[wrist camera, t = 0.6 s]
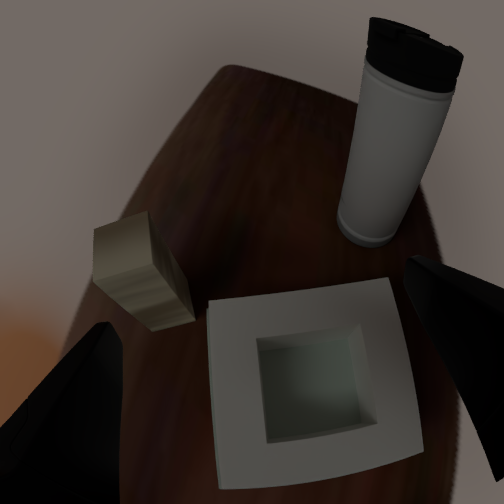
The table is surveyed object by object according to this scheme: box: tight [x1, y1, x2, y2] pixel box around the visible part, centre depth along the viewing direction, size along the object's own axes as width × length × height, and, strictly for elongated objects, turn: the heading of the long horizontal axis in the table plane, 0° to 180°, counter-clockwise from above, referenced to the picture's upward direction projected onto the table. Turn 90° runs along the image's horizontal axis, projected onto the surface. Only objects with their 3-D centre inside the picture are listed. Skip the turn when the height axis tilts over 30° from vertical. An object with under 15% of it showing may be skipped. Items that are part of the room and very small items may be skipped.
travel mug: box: [337, 17, 464, 248], centre depth 20 cm, size 6×7×20 cm
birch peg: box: [93, 211, 196, 331], centre depth 21 cm, size 4×4×10 cm
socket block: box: [207, 277, 424, 489], centre depth 19 cm, size 15×15×5 cm
